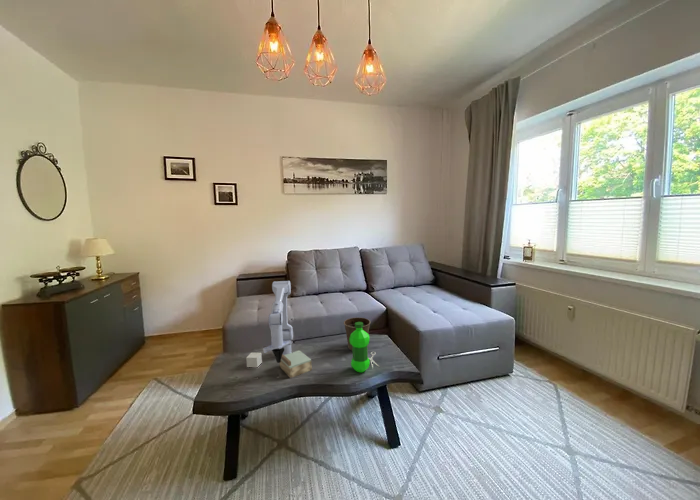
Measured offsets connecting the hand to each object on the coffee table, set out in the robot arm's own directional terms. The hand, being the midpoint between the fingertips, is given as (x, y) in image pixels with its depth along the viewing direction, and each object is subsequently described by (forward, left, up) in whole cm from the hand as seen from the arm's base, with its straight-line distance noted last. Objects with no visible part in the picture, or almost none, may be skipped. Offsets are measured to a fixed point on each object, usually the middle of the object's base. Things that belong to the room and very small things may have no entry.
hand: (278, 361), depth 147 cm
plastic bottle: (+23, +35, -7) cm, 42 cm away
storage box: (0, +9, -7) cm, 11 cm away
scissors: (+18, +46, -7) cm, 50 cm away
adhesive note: (-18, -7, -7) cm, 21 cm away
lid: (0, +9, -2) cm, 9 cm away
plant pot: (+1, +50, -7) cm, 50 cm away
